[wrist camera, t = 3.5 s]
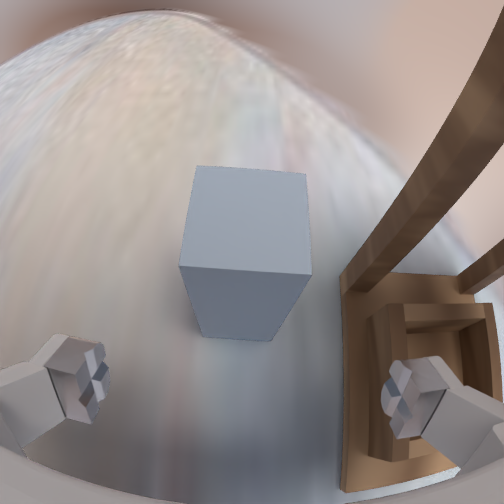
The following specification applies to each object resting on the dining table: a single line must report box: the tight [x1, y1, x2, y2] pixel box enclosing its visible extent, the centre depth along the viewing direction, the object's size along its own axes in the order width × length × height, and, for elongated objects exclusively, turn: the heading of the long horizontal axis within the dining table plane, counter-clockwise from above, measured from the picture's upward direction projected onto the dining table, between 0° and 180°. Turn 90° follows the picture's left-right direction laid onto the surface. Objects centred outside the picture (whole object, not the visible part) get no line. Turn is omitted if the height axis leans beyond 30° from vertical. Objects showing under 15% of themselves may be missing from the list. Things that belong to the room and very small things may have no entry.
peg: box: [179, 166, 312, 341], centre depth 15 cm, size 4×4×10 cm
